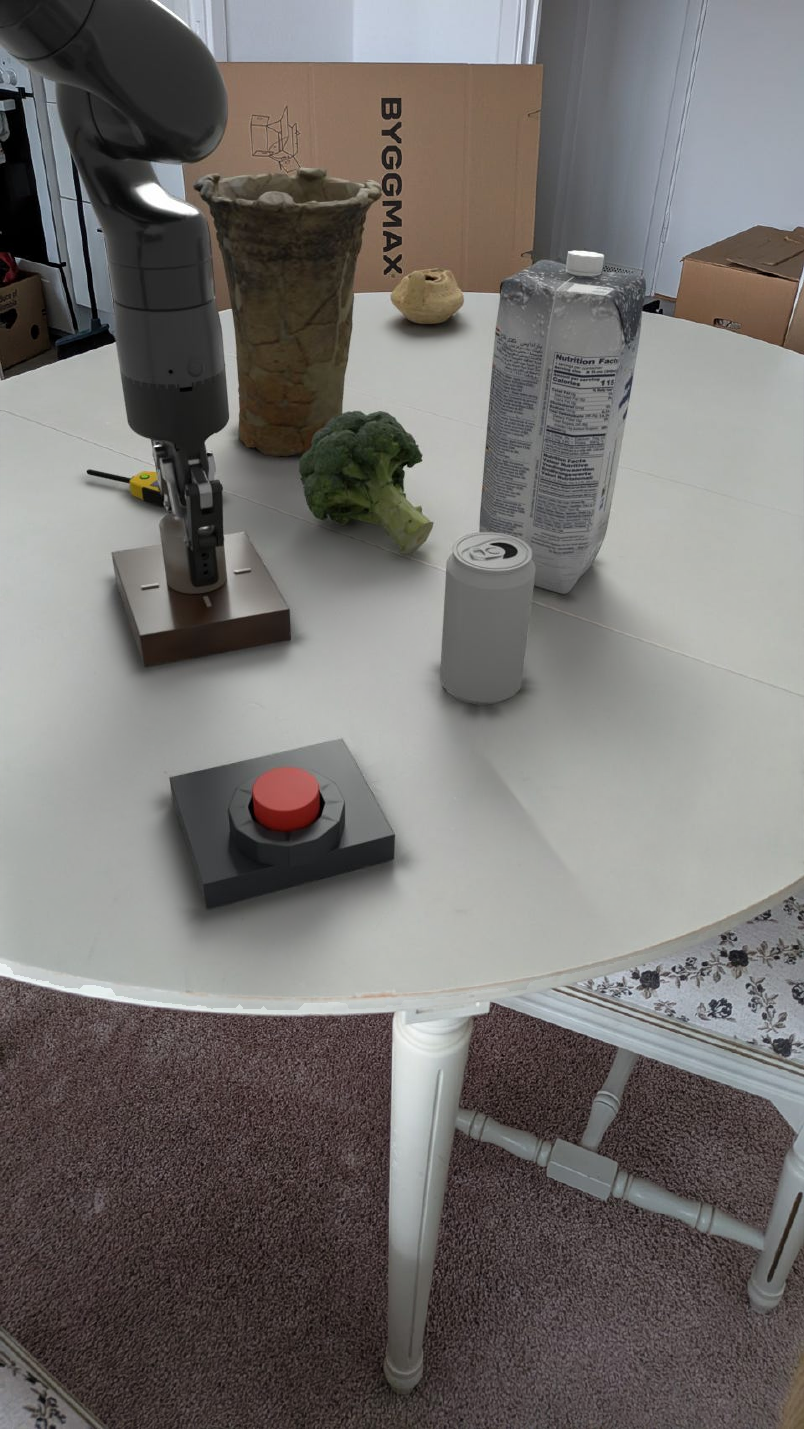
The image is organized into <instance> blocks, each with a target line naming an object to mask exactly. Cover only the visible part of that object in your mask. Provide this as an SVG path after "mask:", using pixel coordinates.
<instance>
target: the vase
mask: <svg viewBox="0 0 804 1429" xmlns="http://www.w3.org/2000/svg"><path fill="white" fill-rule="evenodd" d="M327 173H328V171H327V169H324V168H314V167H308V168H307V167H303V166H302V167H301V166H300V167H298V168H297V169H296V175H295V174H292V175H289V174H287V173H284V172H280V173H277V172H274V174H272V173H270V172H268V173H267V172H266V173H261V174H256V175H254V174H242V175H237V176H231V177H225V178H221V174H219V173H218V172H215V173H209V174H206V175H204V176H202V177H200V178H198V179H197V180H196V182H195V183H194V184H193V190H194V191H196V192H199V197H200V198H201V200H202V201H204V202H205V203H206V204H207V205H208V207H209V213H210V215H211V217H212V218H213V225H214V228H215V231H216V233H215V237H216V241H217V243H218V248H219V251H220V253H221V257H222V260H223V261H222V262H223V267H224V268H223V269H224V273H225V279H226V284H227V289H228V295H229V301H230V307H231V312H232V320H233V328H234V338H235V354H236V355H235V356H236V357H235V358H236V370H237V372H236V373H237V383H238V388H237V393H238V408H239V412H238V431H237V435H238V438H239V441H240V442H243V443H244V445H245V446H246V448H248V449H249V448H253V449H254V448H256V450H258V451H259V452H260V453H261V454H264V455H265V456H266V457H285V458H288V457H289V456H294V457H302V456H303V454H304V453H305V452H307V451H308V450H309V449H310V448H311V447H312V443H311V442H312V438H313V436H314V434H315V433H316V432H317V431H318V430H320V429H322V428H324V426H325V424H326V423H328V422H329V421H330V420H331V419H332V418H333V417H335V418H337V417H339V416H340V415H342V414H343V413H344V412H343V409H344V408H343V404H344V392H345V380H346V379H345V378H346V377H345V376H346V373H347V368H348V363H349V354H350V348H351V340H352V333H353V325H354V324H353V323H354V322H353V316H354V305H355V304H354V303H355V291H354V288H355V275H356V268H357V262H358V257H359V254H360V252H361V250H362V246H363V234H364V231H365V227H364V224H366V220H367V212H368V211H369V209H370V208H371V206H372V205H373V204H374V203H375V202H377V201H378V200H380V199H381V197H382V196H383V194H382V190H383V189H382V188H383V187H382V185H381V184H380V183H379V182H378V181H375V180H373V179H366V180H364V183H360V182H359V183H358V182H353V181H351V180H348V179H344V178H338V177H332V176H327Z"/></svg>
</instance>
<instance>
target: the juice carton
mask: <svg viewBox="0 0 804 1429" xmlns="http://www.w3.org/2000/svg"><path fill="white" fill-rule="evenodd" d="M604 260H605V255H604V254H603V253H598V252H596V251H587V250H570V251H569V250H568V251H567V255H566V262H565V263H566V264H565V263H562V262H558V261H554V260H549V259H541V260H538V261H536V262H535V263H534V264H532V265H529V266H528V267H526V268H524V269H522V270H520V271H519V272H517V273H515V274H513V275H511V276H508V277H506V278H505V279H503V280H502V281H501V282H500V285H499V304H498V309H497V314H496V315H497V316H496V324H495V330H494V340H493V352H492V362H491V376H490V386H489V387H490V389H489V399H488V401H489V402H488V411H487V421H486V422H487V424H486V436H485V447H484V448H485V449H484V459H483V460H484V462H483V470H482V471H483V473H482V485H481V496H480V499H481V500H480V510H479V524H478V525H479V527H478V533H479V532H497V533H504V534H508V535H511V536H514V537H517V538H519V539H521V540H523V541H524V542H525V543H527V544H528V545H529V546H530V548H531V550H532V561H533V562H534V564H535V567H536V569H535V579H534V586H535V587H538V588H541V589H543V590H548V591H551V592H554V593H558V594H561V595H562V594H563V595H567V594H569V592H570V591H571V590H572V588H574V586H576V583H577V582H578V581H579V579H580V578H581V577H582V576H583V575H584V574H585V573H586V572H587V570H589V569H590V568H591V566H592V565H593V563H594V562H595V560H596V558H597V556H598V554H599V552H600V550H601V547H602V545H603V543H604V540H605V538H606V534H607V530H608V526H609V525H608V524H609V522H610V513H611V509H612V504H613V503H612V502H613V497H614V493H615V492H614V491H615V487H616V480H617V474H618V470H619V463H620V457H621V451H622V445H623V441H624V440H623V439H624V433H625V428H626V423H627V416H628V410H629V403H630V398H631V393H632V386H633V381H634V376H635V375H634V374H635V368H636V363H637V356H638V351H639V346H640V337H641V330H642V321H643V320H642V319H643V307H644V302H645V298H646V290H647V282H646V279H645V277H644V276H643V275H640V274H636V273H630V272H629V273H628V272H612V271H611V272H610V271H609V272H608V271H603V268H604V267H603V266H604Z"/></svg>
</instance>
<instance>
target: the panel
mask: <svg viewBox="0 0 804 1429" xmlns="http://www.w3.org/2000/svg"><path fill="white" fill-rule="evenodd" d="M224 548H225V559H226V570H227V579H226V581H225V583H224V584H223V585H222V586H221V587H219V588H217V589H215V590H213V591H210V592H206V593H199V594H188V593H182V592H178V591H176V590H174V589H172V588H171V587H170V586H169V585H168V584H167V581H166V574H165V566H164V559H163V551H162V544H161V543H160V544H155V545H149V546H142V547H135V548H129V549H128V548H127V549H122V550H115V551H111V559H112V565H113V571H114V578H115V582H116V585H117V588H118V591H119V594H120V597H121V601H122V604H123V607H124V609H125V612H126V616H127V619H128V622H129V624H130V625H129V626H130V627H131V631H132V633H133V637H134V640H135V643H136V645H137V646H136V647H137V649H138V651H139V655H140V658H141V661H142V664H143V667H144V668H148V667H153V666H158V665H163V664H168V663H169V664H170V663H174V662H179V661H185V660H190V659H195V658H196V659H197V658H201V657H206V656H210V655H211V656H212V655H217V654H223V653H228V652H232V651H237V650H242V649H247V648H253V647H259V646H263V645H264V646H265V645H269V644H274V643H280V642H285V641H290V640H292V639H291V638H292V629H291V609H290V607H289V606H288V604H287V602H286V600H285V598H284V597H283V594H282V593H281V592H280V590H279V588H278V586H277V584H276V582H275V581H274V579H273V577H272V576H271V574H270V572H269V571H268V569H267V567H266V565H265V563H264V562H263V560H262V558H261V556H260V555H259V552H258V551H257V549H256V547H255V545H254V544H253V542H252V541H251V539H250V537H249V535H248V534H247V531H240V532H233V533H226V534H224Z"/></svg>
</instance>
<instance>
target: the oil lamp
mask: <svg viewBox="0 0 804 1429" xmlns="http://www.w3.org/2000/svg"><path fill="white" fill-rule="evenodd" d="M390 301H391V303H392V305H393V306H394V307H395V309H397V310H398V311H399V312H400V313H401V315H403V316H404V317H405V318H406V319H407V320H409V321H410V322H412V323H414V324H420V325H434V324H441V323H444V322H446V321H448V319H449V318H450V317H451V316H453V314H455V313H456V312H458V311H459V310H460V309H461V308H462V307H463V305H464V303H465V298H464V293H463V291H462V289H460V287H459V286H458V283H457V281H456V278H455V276H454V274H453V272H452V271H451V270H450V269H447V270H446V269H443V268H437V267H434V268H425V269H421V270H414V271H412V272H411V273H409V274H407V275H405V276H404V277H403V278H402V279H401V281H400V282H399V284H398V285H397V286H396V287H395V288H394V290H392V292H391V293H390Z"/></svg>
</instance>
